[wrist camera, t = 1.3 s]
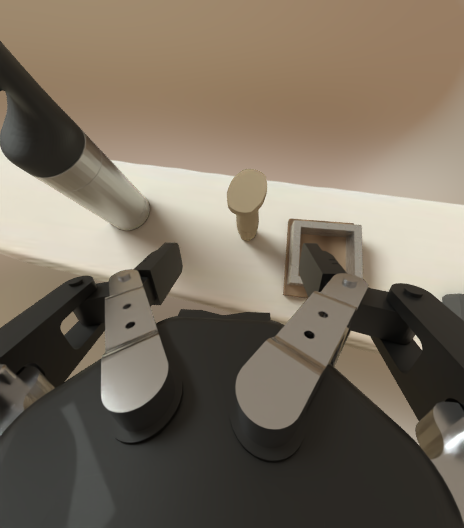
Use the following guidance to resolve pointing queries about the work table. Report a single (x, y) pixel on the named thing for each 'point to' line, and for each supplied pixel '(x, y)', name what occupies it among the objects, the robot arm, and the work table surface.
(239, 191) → the handle
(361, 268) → the collar
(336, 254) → the board
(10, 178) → the work table surface
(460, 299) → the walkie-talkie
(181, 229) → the work table surface
